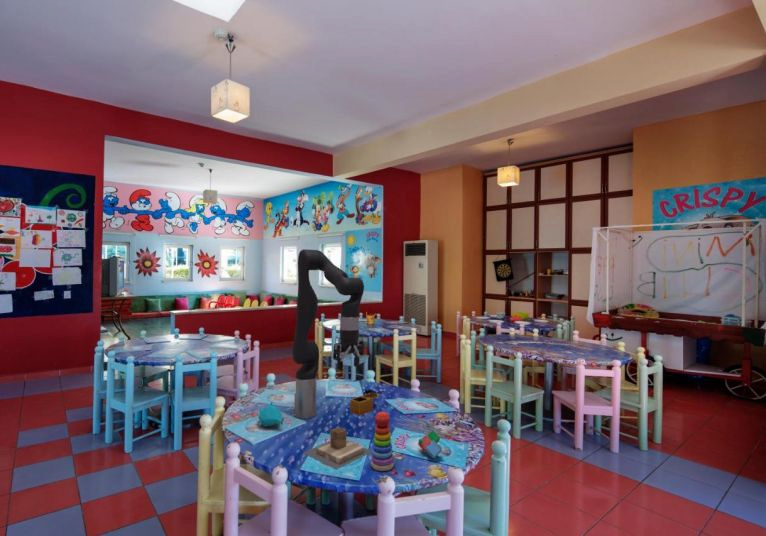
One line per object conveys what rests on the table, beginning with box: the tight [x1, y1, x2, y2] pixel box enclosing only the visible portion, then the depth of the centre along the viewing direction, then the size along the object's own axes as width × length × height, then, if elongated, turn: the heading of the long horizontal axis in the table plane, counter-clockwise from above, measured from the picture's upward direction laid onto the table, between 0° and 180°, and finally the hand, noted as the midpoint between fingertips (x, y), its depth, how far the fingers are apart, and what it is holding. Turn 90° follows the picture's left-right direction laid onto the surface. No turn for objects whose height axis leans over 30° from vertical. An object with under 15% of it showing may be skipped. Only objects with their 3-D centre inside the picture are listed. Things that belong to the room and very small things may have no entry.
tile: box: [317, 439, 365, 464], centre depth 148 cm, size 2×12×12 cm
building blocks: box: [417, 429, 442, 460], centre depth 150 cm, size 8×8×12 cm
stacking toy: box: [370, 411, 395, 472], centre depth 140 cm, size 8×8×19 cm
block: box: [330, 426, 347, 450], centre depth 149 cm, size 4×4×6 cm
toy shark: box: [257, 401, 285, 427], centre depth 173 cm, size 10×18×11 cm, turn 49°
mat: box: [302, 440, 372, 470], centre depth 149 cm, size 18×18×1 cm
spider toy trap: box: [349, 389, 381, 416], centre depth 195 cm, size 6×15×9 cm, turn 140°
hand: (348, 368), depth 163 cm, fingers open, 8 cm apart
